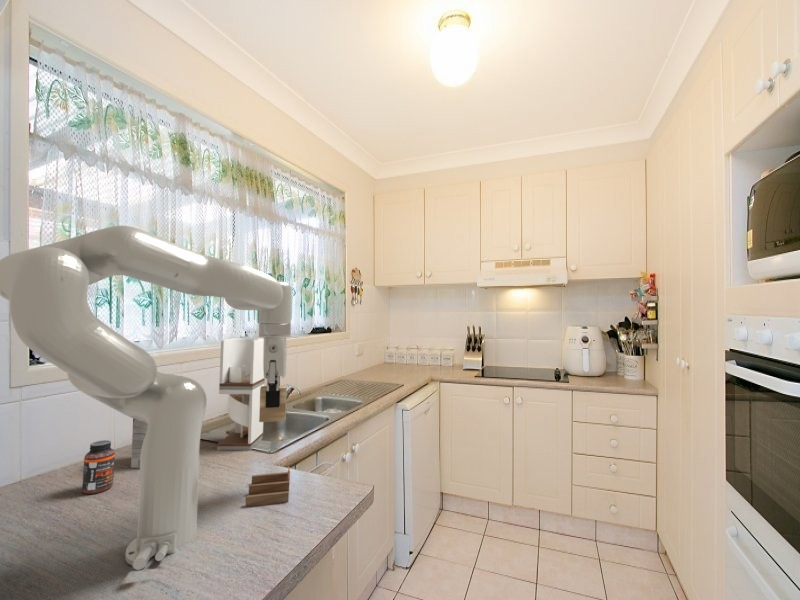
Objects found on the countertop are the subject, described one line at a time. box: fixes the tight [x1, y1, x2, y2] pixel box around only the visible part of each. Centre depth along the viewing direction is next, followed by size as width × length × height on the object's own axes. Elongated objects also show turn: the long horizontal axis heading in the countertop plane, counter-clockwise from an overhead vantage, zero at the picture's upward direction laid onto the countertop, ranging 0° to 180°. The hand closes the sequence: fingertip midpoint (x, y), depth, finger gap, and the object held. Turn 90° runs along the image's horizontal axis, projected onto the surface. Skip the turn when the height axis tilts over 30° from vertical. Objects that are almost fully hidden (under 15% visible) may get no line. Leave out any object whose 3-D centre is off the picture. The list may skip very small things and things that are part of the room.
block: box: [259, 385, 287, 423], centre depth 90 cm, size 3×6×8 cm, turn 105°
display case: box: [216, 337, 266, 451], centre depth 123 cm, size 11×11×35 cm
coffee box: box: [130, 418, 148, 469], centre depth 107 cm, size 9×6×16 cm
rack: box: [245, 466, 291, 508], centre depth 87 cm, size 11×9×6 cm
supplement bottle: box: [81, 439, 116, 495], centre depth 90 cm, size 6×6×11 cm
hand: (273, 404), depth 90 cm, fingers closed on block, 3 cm apart
